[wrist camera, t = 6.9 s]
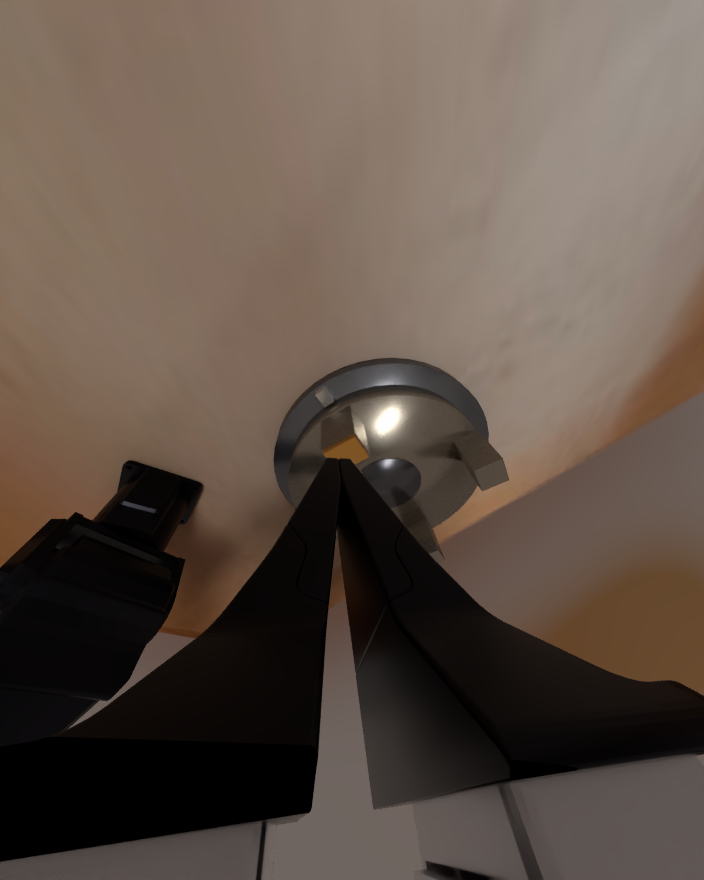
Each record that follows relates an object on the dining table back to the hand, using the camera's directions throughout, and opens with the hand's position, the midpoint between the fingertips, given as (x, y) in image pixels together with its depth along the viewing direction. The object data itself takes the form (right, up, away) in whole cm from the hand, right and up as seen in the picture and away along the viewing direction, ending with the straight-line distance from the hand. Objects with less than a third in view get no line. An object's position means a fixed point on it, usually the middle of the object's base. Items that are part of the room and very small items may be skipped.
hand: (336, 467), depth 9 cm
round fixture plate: (+3, -2, +15) cm, 16 cm away
